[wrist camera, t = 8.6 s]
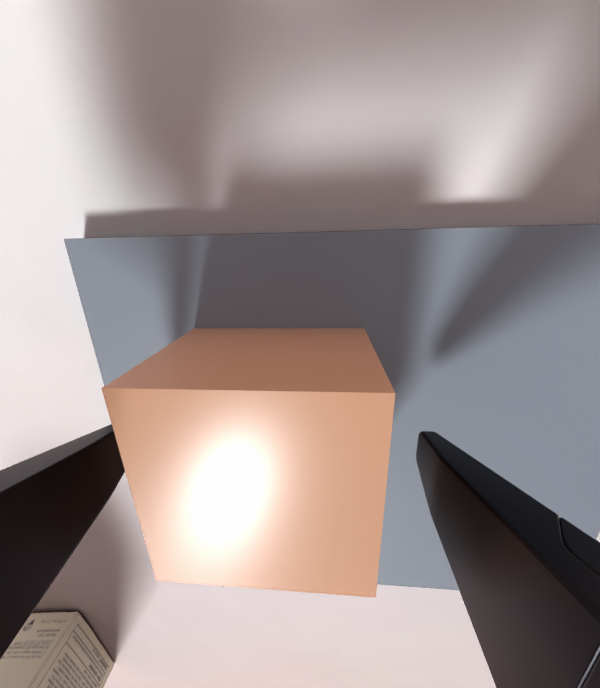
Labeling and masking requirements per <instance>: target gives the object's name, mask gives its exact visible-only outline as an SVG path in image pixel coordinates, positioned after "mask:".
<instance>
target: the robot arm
mask: <svg viewBox="0 0 600 688" xmlns="http://www.w3.org/2000/svg"><path fill="white" fill-rule="evenodd" d="M416 461H417V465H418V469H419V473H420V477H421V481H422V484H423V488H424V492H425V496H426V500H427V503H428V507H429V510H430V514H431V517H432V519H433V522H434V525H435V528H436V530H437V533H438V535H439V538H440V541H441V543H442V546H443V548H444V551H445V554H446V556H447V559H448V562H449V564H450V567H451V569H452V572H453V575H454V577H455V580H456V583H457V585H458V588H459V590H460V593H461V596H462V598H463V601H464V603H465V606H466V609H467V611H468V614H469V617H470V619H471V622H472V624H473V627H474V630H475V632H476V635H477V638H478V640H479V643H480V645H481V648H482V651H483V653H484V656H485V659H486V661H487V664H488V666H489V669H490V672H491V674H492V677H493V679H494V682H495V685H496V687H497V688H600V542H598V541H597V540H595V539H594V538H592V537H591V536H589V535H588V534H586V533H585V532H583V531H582V530H580V529H579V528H577V527H576V526H574V525H573V524H571V523H570V522H568V521H567V520H565V519H564V518H562V517H560V518H559V516H558V514H556V513H555V512H553V511H552V510H550V509H549V508H547V507H546V506H544V505H543V504H541V503H540V502H539V501H537V500H536V499H534V498H533V497H531V496H530V495H528V494H527V493H525V492H524V491H522V490H521V489H519V488H518V487H516V486H515V485H513V484H512V483H510V482H509V481H507V480H506V479H504V478H503V477H501V476H500V475H498V474H497V473H495V472H494V471H493V470H491V469H490V468H488V467H487V466H485V465H484V464H482V463H481V462H479V461H478V460H476V459H475V458H473V457H472V456H470V455H469V454H467V453H466V452H464V451H463V450H461V449H460V448H458V447H457V446H455V445H454V444H452V443H451V442H449V441H448V440H447V439H445V438H444V437H442V436H441V435H439V434H438V433H436V432H434V431H421V432H420V433H419V436H418V443H417V450H416ZM124 472H125V469H124V466H123V462H122V459H121V455H120V451H119V448H118V444H117V441H116V437H115V434H114V430H113V427H112V424H111V425H109V426H106V427H104V428H102V429H99V430H97V431H94V432H92V433H90V434H87V435H85V436H82V437H80V438H78V439H75V440H73V441H70V442H68V443H66V444H63V445H61V446H58V447H56V448H53V449H51V450H49V451H46V452H44V453H41V454H39V455H37V456H34V457H32V458H29V459H27V460H25V461H22V462H20V463H17V464H15V465H13V466H10V467H8V468H5V469H3V470H1V471H0V659H1V658H2V656H3V655H4V653H5V652H6V650H7V649H8V647H9V646H10V645H11V643H12V642H13V640H14V639H15V637H16V636H17V634H18V633H19V631H20V630H21V628H22V627H23V625H24V624H25V622H26V621H27V619H28V618H29V616H30V615H31V614H32V612H33V611H34V609H35V608H36V606H37V605H38V603H39V602H40V600H41V599H42V597H43V596H44V594H45V593H46V591H47V590H48V588H49V587H50V585H51V584H52V583H53V581H54V580H55V578H56V577H57V575H58V574H59V572H60V571H61V569H62V568H63V566H64V565H65V563H66V562H67V560H68V559H69V557H70V556H71V554H72V553H73V551H74V550H75V549H76V547H77V546H78V544H79V543H80V541H81V540H82V538H83V537H84V535H85V534H86V532H87V531H88V529H89V528H90V526H91V525H92V523H93V522H94V520H95V519H96V518H97V516H98V515H99V513H100V512H101V510H102V509H103V507H104V506H105V504H106V503H107V501H108V500H109V498H110V496H111V495H112V493H113V491H114V490H115V488H116V486H117V484H118V483H119V481H120V479H121V477H122V475H123V474H124Z"/></svg>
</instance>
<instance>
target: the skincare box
mask: <svg viewBox="0 0 600 688" xmlns="http://www.w3.org/2000/svg"><path fill="white" fill-rule="evenodd" d="M113 666H114V663H113V661H112V660H111V658H110V657H109V655H108V653H107V652H106V650H105V649H104V647H103V646H102V645H101V643H100V642H99V640H98V639H97V637H96V636H95V634H94V633H93V631H92V629H91V628H90V627H89V625H88V624H87V623H86V622H85V621H84V619H83V618H82V616H81V615H80V614H79V612H77V611H76V612H43V613H32V614H31V615H30V616H29V618H28V619H27V621H26V622H25V624H24V625H23V627H22V628H21V630H20V631H19V633H18V634H17V636H16V637H15V639H14V640H13V642H12V643H11V645H10V646H9V647H8V649H7V650H6V652H5V653H4V655H3V656H2V658H1V659H0V688H103V687H104V685H105V683H106V681H107V678H108V676H109V674H110V672H111V670H112V668H113Z"/></svg>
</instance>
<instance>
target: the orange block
mask: <svg viewBox="0 0 600 688" xmlns="http://www.w3.org/2000/svg"><path fill="white" fill-rule="evenodd" d="M102 391H103V395H104V398H105V402H106V405H107V409H108V412H109V416H110V419H111V423H112V427H113V430H114V434H115V437H116V441H117V444H118V448H119V451H120V455H121V459H122V462H123V466H124V469H125V473H126V476H127V480H128V483H129V487H130V490H131V494H132V498H133V501H134V505H135V508H136V512H137V515H138V519H139V522H140V526H141V529H142V533H143V537H144V540H145V544H146V547H147V551H148V554H149V558H150V561H151V565H152V568H153V572H154V576H155V579H156V581H164V582H177V583H190V584H203V585H217V586H230V587H243V588H257V589H270V590H283V591H297V592H310V593H323V594H336V595H350V596H363V597H376V589H377V579H378V569H379V558H380V548H381V537H382V527H383V517H384V506H385V496H386V485H387V475H388V465H389V454H390V444H391V434H392V423H393V413H394V402H395V391H394V389H393V387H392V385H391V383H390V381H389V379H388V377H387V375H386V373H385V370H384V368H383V366H382V364H381V362H380V360H379V358H378V356H377V354H376V352H375V350H374V348H373V346H372V343H371V341H370V339H369V337H368V335H367V333H366V331H365V329H364V328H199V329H192V330H191V331H189V332H188V333H186V334H185V335H183V336H182V337H180V338H178V339H177V340H175V341H174V342H172V343H171V344H169V345H168V346H166V347H165V348H163V349H161V350H160V351H158V352H157V353H155V354H154V355H152V356H151V357H149V358H148V359H146V360H144V361H143V362H141V363H140V364H138V365H137V366H135V367H134V368H132V369H130V370H129V371H127V372H126V373H124V374H123V375H121V376H120V377H118V378H117V379H115V380H113V381H112V382H110V383H109V384H107V385H106V386H104V387H103V388H102Z"/></svg>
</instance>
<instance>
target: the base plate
mask: <svg viewBox="0 0 600 688" xmlns="http://www.w3.org/2000/svg"><path fill="white" fill-rule="evenodd" d="M64 241H65V245H66V249H67V252H68V256H69V259H70V263H71V267H72V270H73V274H74V277H75V281H76V285H77V288H78V292H79V296H80V299H81V303H82V306H83V310H84V314H85V317H86V321H87V325H88V328H89V332H90V335H91V339H92V343H93V346H94V350H95V353H96V357H97V361H98V364H99V368H100V372H101V375H102V379H103V382H104V386H106V385H107V384H109V383H110V382H112V381H113V380H115V379H117V378H118V377H120V376H121V375H123V374H124V373H126V372H127V371H129V370H130V369H132V368H134V367H135V366H137V365H138V364H140V363H141V362H143V361H144V360H146V359H148V358H149V357H151V356H152V355H154V354H155V353H157V352H158V351H160V350H161V349H163V348H165V347H166V346H168V345H169V344H171V343H172V342H174V341H175V340H177V339H178V338H180V337H182V336H183V335H185V334H186V333H188V332H189V331H191V330H192V329H199V328H364V329H365V331H366V333H367V335H368V337H369V339H370V341H371V343H372V346H373V348H374V350H375V352H376V354H377V356H378V358H379V360H380V362H381V364H382V366H383V368H384V370H385V373H386V375H387V377H388V379H389V381H390V383H391V385H392V387H393V389H394V391H395V402H394V413H393V423H392V434H391V444H390V454H389V465H388V475H387V485H386V496H385V506H384V517H383V527H382V537H381V548H380V558H379V569H378V579H377V584H381V585H394V586H408V587H422V588H436V589H450V590H459V588H458V585H457V583H456V580H455V577H454V575H453V572H452V569H451V567H450V564H449V562H448V559H447V556H446V554H445V551H444V548H443V546H442V543H441V541H440V538H439V535H438V533H437V530H436V528H435V525H434V522H433V519H432V517H431V514H430V510H429V507H428V503H427V500H426V496H425V492H424V488H423V484H422V481H421V477H420V473H419V469H418V465H417V461H416V450H417V443H418V436H419V433H420V432H421V431H434V432H436V433H438V434H439V435H441V436H442V437H444V438H445V439H447V440H448V441H449V442H451V443H452V444H454V445H455V446H457V447H458V448H460V449H461V450H463V451H464V452H466V453H467V454H469V455H470V456H472V457H473V458H475V459H476V460H478V461H479V462H481V463H482V464H484V465H485V466H487V467H488V468H490V469H491V470H493V471H494V472H495V473H497V474H498V475H500V476H501V477H503V478H504V479H506V480H507V481H509V482H510V483H512V484H513V485H515V486H516V487H518V488H519V489H521V490H522V491H524V492H525V493H527V494H528V495H530V496H531V497H533V498H534V499H536V500H537V501H539V502H540V503H541V504H543V505H544V506H546V507H547V508H549V509H550V510H552V511H553V512H555V513H556V514H558V516H559V518H560V517H562V518H564V519H565V520H567V521H568V522H570V523H571V524H573V525H574V526H576V527H577V528H579V529H580V530H582V531H583V532H585V533H586V534H588V535H589V536H591V537H592V538H594V539H595V540H596V538H597V536H598V533H599V531H600V224H579V225H543V226H507V227H472V228H436V229H400V230H364V231H329V232H293V233H257V234H221V235H186V236H150V237H114V238H78V239H64Z"/></svg>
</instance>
